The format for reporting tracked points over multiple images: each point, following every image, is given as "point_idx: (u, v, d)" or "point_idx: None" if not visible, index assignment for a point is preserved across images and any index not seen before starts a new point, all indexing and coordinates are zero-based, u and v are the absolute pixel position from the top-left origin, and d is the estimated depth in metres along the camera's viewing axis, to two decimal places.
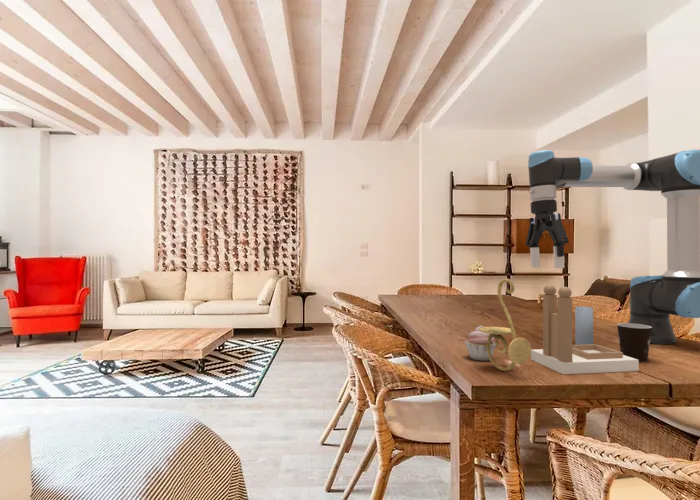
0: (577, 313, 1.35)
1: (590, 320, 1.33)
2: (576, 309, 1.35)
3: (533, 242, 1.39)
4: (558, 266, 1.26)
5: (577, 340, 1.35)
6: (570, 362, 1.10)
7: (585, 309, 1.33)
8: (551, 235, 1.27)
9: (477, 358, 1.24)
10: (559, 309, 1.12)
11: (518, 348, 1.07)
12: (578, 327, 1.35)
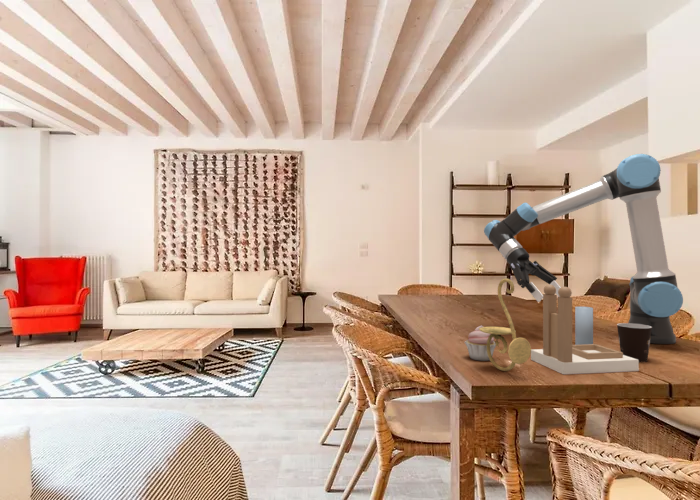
0: (577, 313, 1.35)
1: (590, 320, 1.33)
2: (576, 309, 1.35)
3: (546, 280, 1.53)
4: (538, 299, 1.41)
5: (577, 340, 1.35)
6: (570, 362, 1.10)
7: (585, 309, 1.33)
8: None
9: (477, 358, 1.24)
10: (559, 309, 1.12)
11: (518, 348, 1.07)
12: (578, 327, 1.35)
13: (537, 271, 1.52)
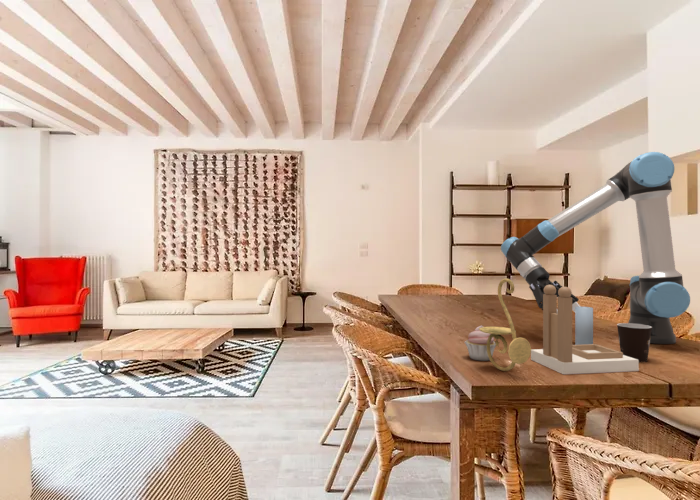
0: (577, 313, 1.35)
1: (590, 320, 1.33)
2: (576, 309, 1.35)
3: None
4: None
5: (577, 340, 1.35)
6: (570, 362, 1.10)
7: (585, 309, 1.33)
8: None
9: (477, 358, 1.24)
10: (559, 309, 1.12)
11: (518, 348, 1.07)
12: (578, 327, 1.35)
13: None
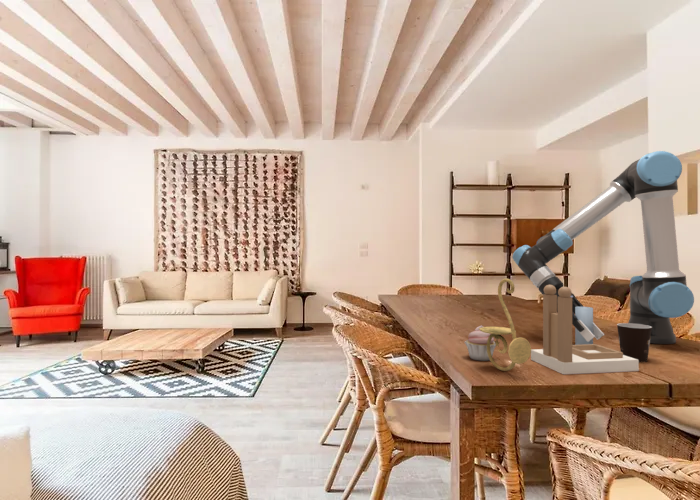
0: (577, 313, 1.35)
1: (590, 320, 1.33)
2: (576, 309, 1.35)
3: None
4: (588, 339, 1.31)
5: (577, 340, 1.35)
6: (570, 362, 1.10)
7: (585, 309, 1.33)
8: None
9: (477, 358, 1.24)
10: (559, 309, 1.12)
11: (518, 348, 1.07)
12: None
13: None
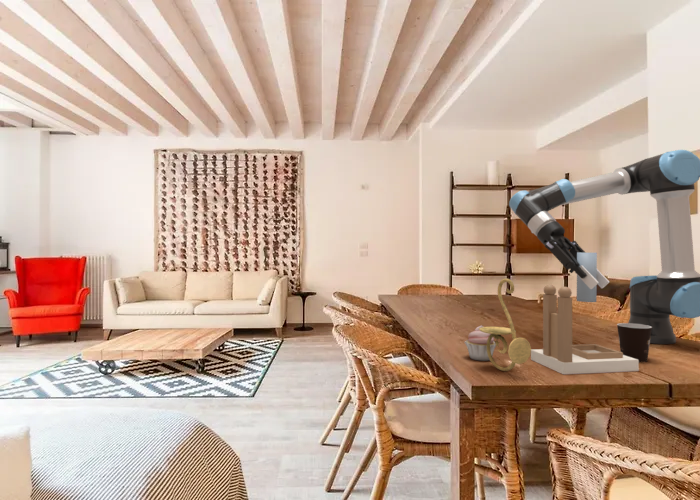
0: (579, 258, 1.21)
1: (593, 265, 1.19)
2: (578, 254, 1.21)
3: None
4: (591, 285, 1.17)
5: (578, 289, 1.21)
6: (570, 362, 1.10)
7: (588, 253, 1.19)
8: None
9: (477, 358, 1.24)
10: (559, 309, 1.12)
11: (518, 348, 1.07)
12: None
13: (572, 250, 1.26)
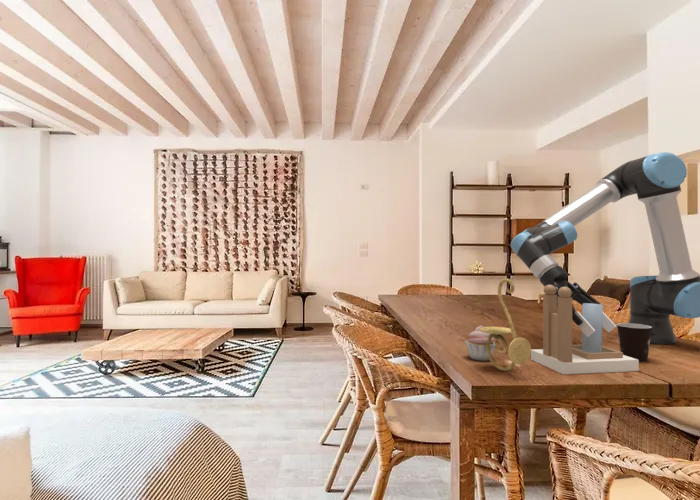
0: (584, 311, 1.19)
1: (599, 319, 1.17)
2: (583, 306, 1.19)
3: None
4: (587, 333, 1.14)
5: (584, 341, 1.19)
6: (570, 362, 1.10)
7: (594, 306, 1.17)
8: None
9: (477, 358, 1.24)
10: (559, 309, 1.12)
11: (518, 348, 1.07)
12: None
13: (578, 295, 1.25)
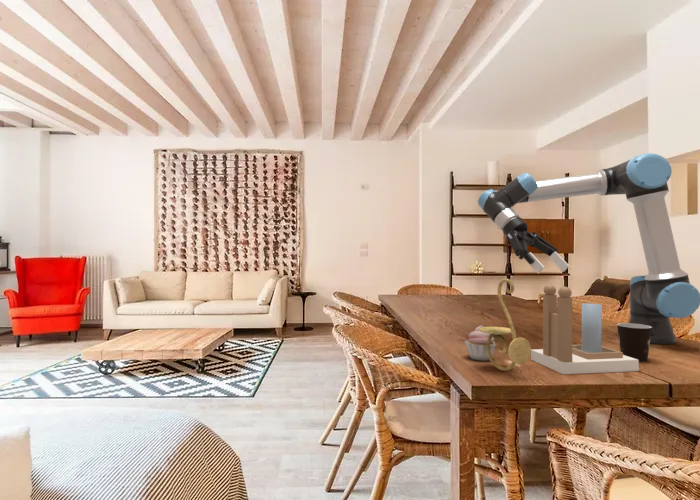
0: (584, 310, 1.19)
1: (599, 318, 1.17)
2: (583, 306, 1.20)
3: (546, 252, 1.40)
4: (538, 270, 1.28)
5: (583, 341, 1.19)
6: (570, 362, 1.10)
7: (593, 306, 1.17)
8: None
9: (477, 358, 1.24)
10: (559, 309, 1.12)
11: (518, 348, 1.07)
12: (585, 326, 1.19)
13: (536, 242, 1.40)
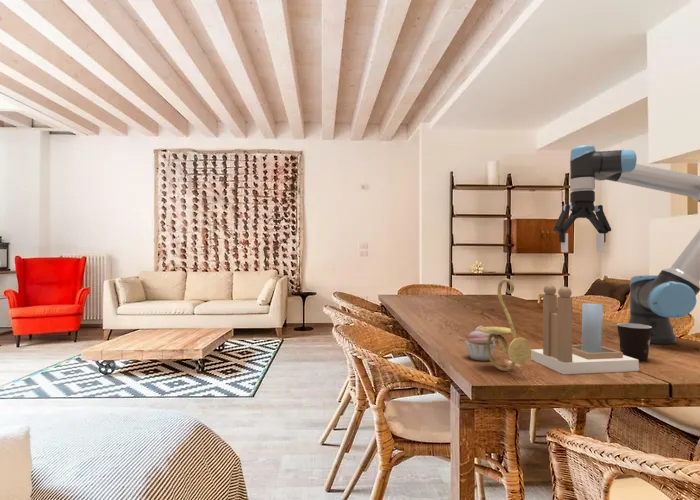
0: (584, 311, 1.19)
1: (599, 318, 1.17)
2: (583, 306, 1.19)
3: (596, 228, 1.48)
4: (562, 250, 1.46)
5: (583, 341, 1.19)
6: (570, 362, 1.10)
7: (593, 306, 1.17)
8: None
9: (477, 358, 1.24)
10: (559, 309, 1.12)
11: (518, 348, 1.07)
12: (585, 327, 1.19)
13: (592, 218, 1.46)
